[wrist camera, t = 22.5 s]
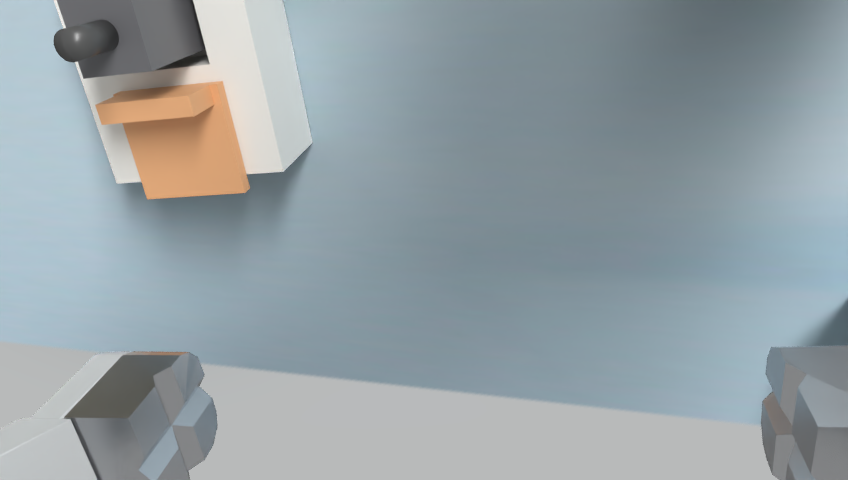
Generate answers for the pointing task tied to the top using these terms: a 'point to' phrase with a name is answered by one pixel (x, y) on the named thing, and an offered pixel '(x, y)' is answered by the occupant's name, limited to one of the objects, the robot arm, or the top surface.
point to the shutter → (180, 139)
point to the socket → (226, 85)
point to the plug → (127, 35)
